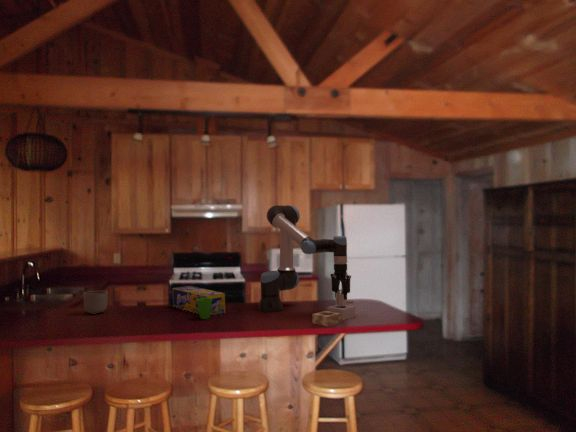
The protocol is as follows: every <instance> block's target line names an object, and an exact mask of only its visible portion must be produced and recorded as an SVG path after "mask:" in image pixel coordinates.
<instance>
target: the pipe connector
mask: <svg viewBox="0 0 576 432" xmlns="http://www.w3.org/2000/svg"><path fill="white" fill-rule="evenodd" d="M348 304H354V300H350V299H349V300H348V298H347V299H346V305H348Z"/></svg>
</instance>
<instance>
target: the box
mask: <svg viewBox="0 0 576 432" xmlns="http://www.w3.org/2000/svg"><path fill="white" fill-rule="evenodd" d="M201 298H211V299H213V300H212V303H211V310H210V317H212V316H211V315H214V316H217V314H219V315H223V314H222V313H224V314H226V294H225V292H220V291H215V290H211V289H208V288H207V289H206V288H203V287H197V286H193V285H187V286H178V287H173V288H172V308H174V307H176V308H175V309H177V308H179V309H178V310H180V309H182V310H181V311H184V310H186V311H185V312H187V311H189V312H188V313H190V312H193V313H192V314H194V313H196V314H195V315H198V314H199V309H198V303H197V301H196V300H197V299H201Z"/></svg>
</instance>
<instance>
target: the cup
mask: <svg viewBox="0 0 576 432" xmlns="http://www.w3.org/2000/svg"><path fill="white" fill-rule="evenodd" d="M212 300H213V299H211V298H201V299H197V300H196V301H197V303H198V309H199V315H198V316H199V318H201V319H207V318H209V319H210V317H211V316H210V310H211V303H212ZM201 319H200V320H201ZM207 320H208V319H207Z"/></svg>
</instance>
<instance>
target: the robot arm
mask: <svg viewBox="0 0 576 432" xmlns="http://www.w3.org/2000/svg"><path fill="white" fill-rule="evenodd" d="M300 216H301V215H300V211H299V209H298V208H297V207H296V206H294V205H289V204H287V205H273V206H271V207H269V208H268V210H267V212H266V220H267V221H268V223H269V224H270V225H271V226H272V227H273V228H275V229H276V228H277V229H279V266H278V267H277V269H276V270H270V271H264V272H262V273H261V274H260V280H259V281H260V299H259V304H258V306H257V308H258V309H257V310H258V311H259V312H263V313H265V312H267V313H272V312H273V313H274V312H275V313H276V312H280V311H283V309H284V306H283V304H282V300H281V296H280V292H283V291H291V290H293V289H295V288H296V287H298V285H299V282H300V275H299V274H298V272H297V271H296V268H295V266H294V243H296V244H298V246H300V250H301V252H302V253H303V254H306V255H313V254H321V253H333V271H334V272H333V273H330V280H331V291H332V292H334V298H335V305H337V290H340V283H341V287H342V288H341V290H343V293H342V306H344V305H346V299H347V300H348V294H349V293H351V279H352V275H349V274H348V272H347V271H348V264H347V263H348V249H347V248H348V240H347V236H345V235H335V236H333V239H332V238H331V239H327V238H320V239H313V238H312V237H311V236H309V235H308V234H306V233H305V232H304V231H303V230H302V229H300V228H299V227H298V226H297V223H298V222H299V220H300Z"/></svg>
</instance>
